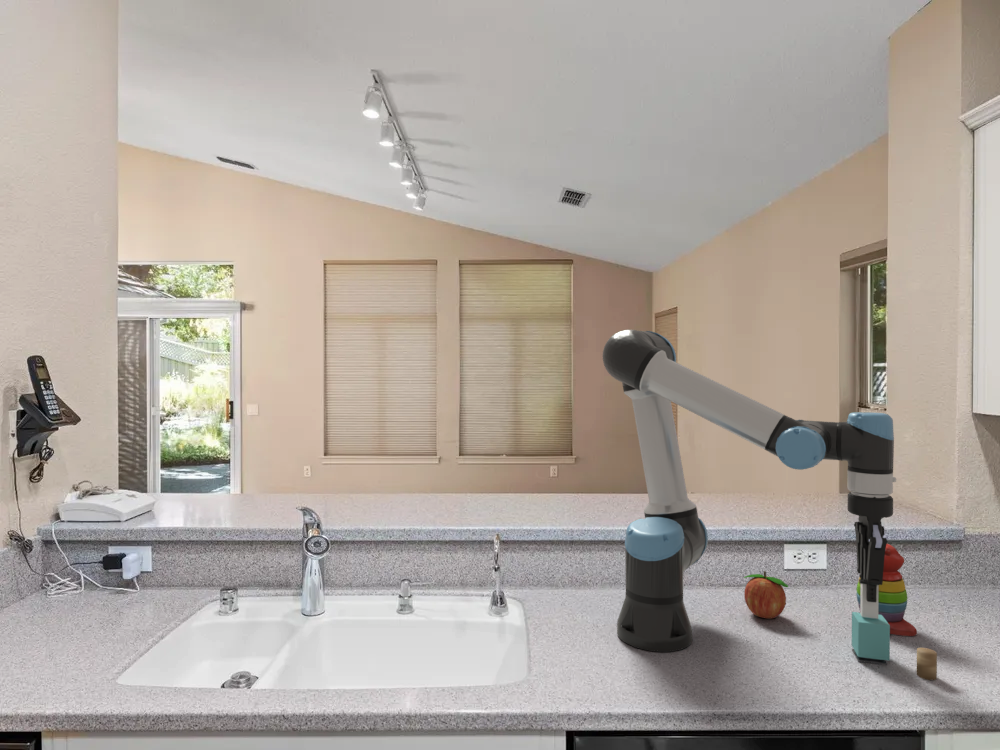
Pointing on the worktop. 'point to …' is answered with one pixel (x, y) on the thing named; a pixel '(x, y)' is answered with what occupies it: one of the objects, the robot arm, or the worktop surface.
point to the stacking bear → (893, 595)
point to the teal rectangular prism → (871, 637)
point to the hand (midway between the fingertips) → (869, 616)
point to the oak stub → (927, 663)
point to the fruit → (765, 595)
